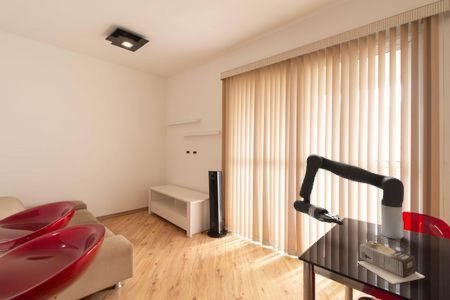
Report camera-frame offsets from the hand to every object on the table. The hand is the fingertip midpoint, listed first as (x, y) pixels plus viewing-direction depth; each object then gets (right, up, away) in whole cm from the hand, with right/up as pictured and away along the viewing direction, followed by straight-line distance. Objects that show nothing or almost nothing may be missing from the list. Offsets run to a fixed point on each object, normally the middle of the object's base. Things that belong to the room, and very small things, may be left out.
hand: (341, 223), depth 104 cm
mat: (+7, -11, -22) cm, 25 cm away
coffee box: (+3, -7, -12) cm, 15 cm away
